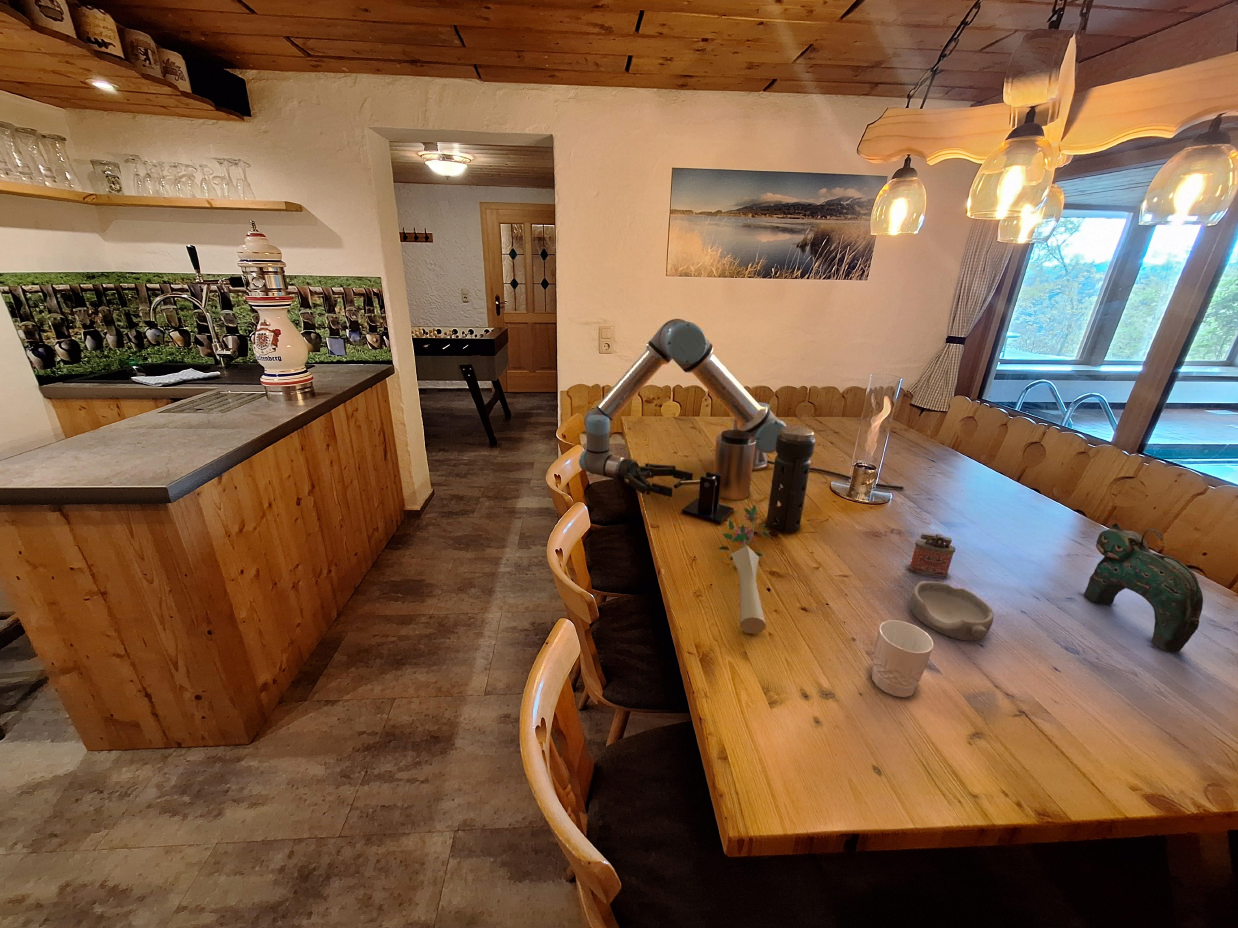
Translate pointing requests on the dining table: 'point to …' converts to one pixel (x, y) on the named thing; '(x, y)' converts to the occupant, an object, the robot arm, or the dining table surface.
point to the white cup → (900, 657)
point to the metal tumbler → (734, 463)
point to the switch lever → (689, 482)
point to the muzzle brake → (790, 478)
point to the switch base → (709, 501)
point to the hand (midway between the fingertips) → (682, 485)
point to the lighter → (932, 556)
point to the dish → (951, 610)
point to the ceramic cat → (1148, 584)
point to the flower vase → (747, 575)
